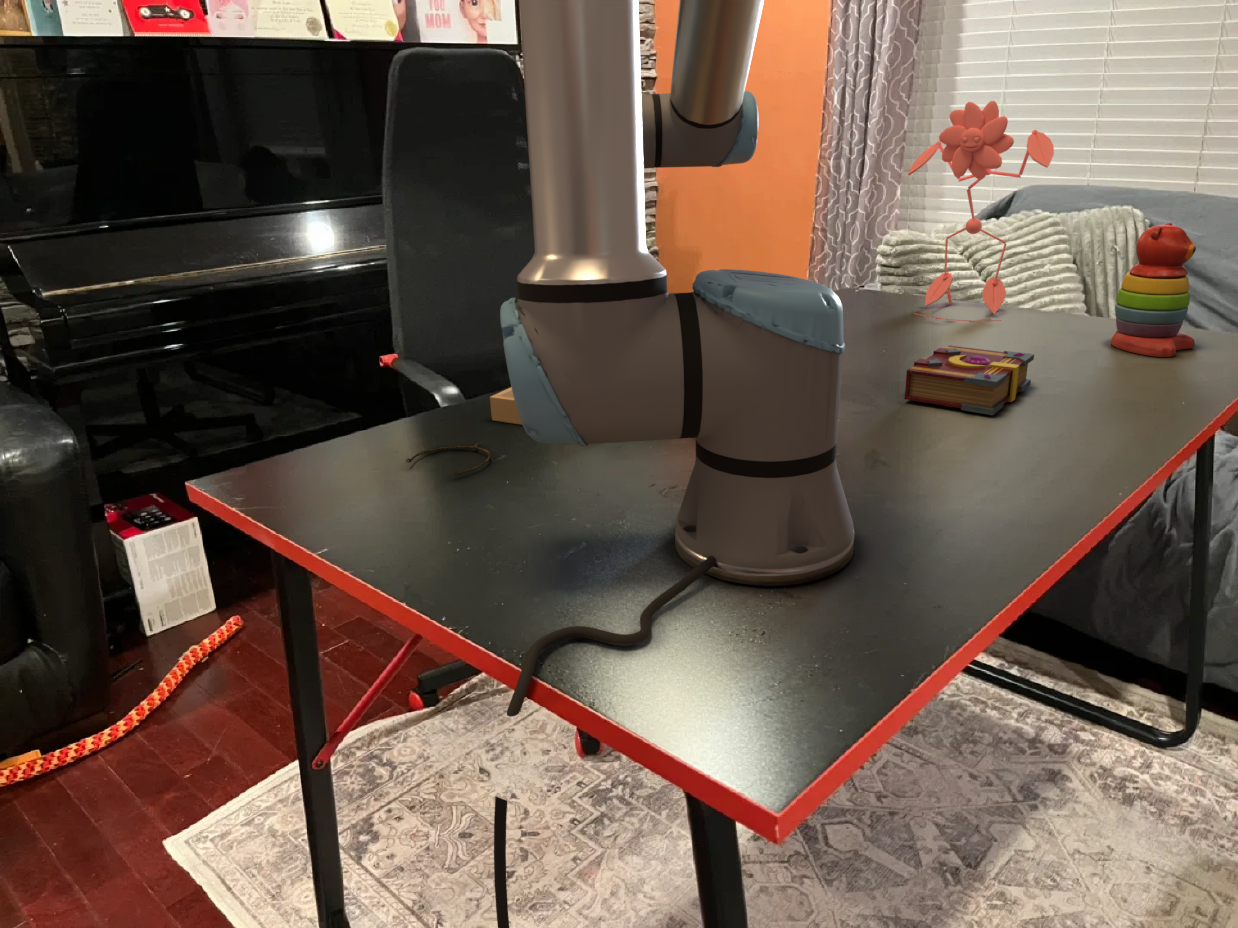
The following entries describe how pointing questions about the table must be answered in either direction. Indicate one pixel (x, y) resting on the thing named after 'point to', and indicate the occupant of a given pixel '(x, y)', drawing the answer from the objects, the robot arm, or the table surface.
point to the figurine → (979, 177)
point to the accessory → (456, 447)
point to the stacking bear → (1155, 295)
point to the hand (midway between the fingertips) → (594, 386)
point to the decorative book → (968, 378)
